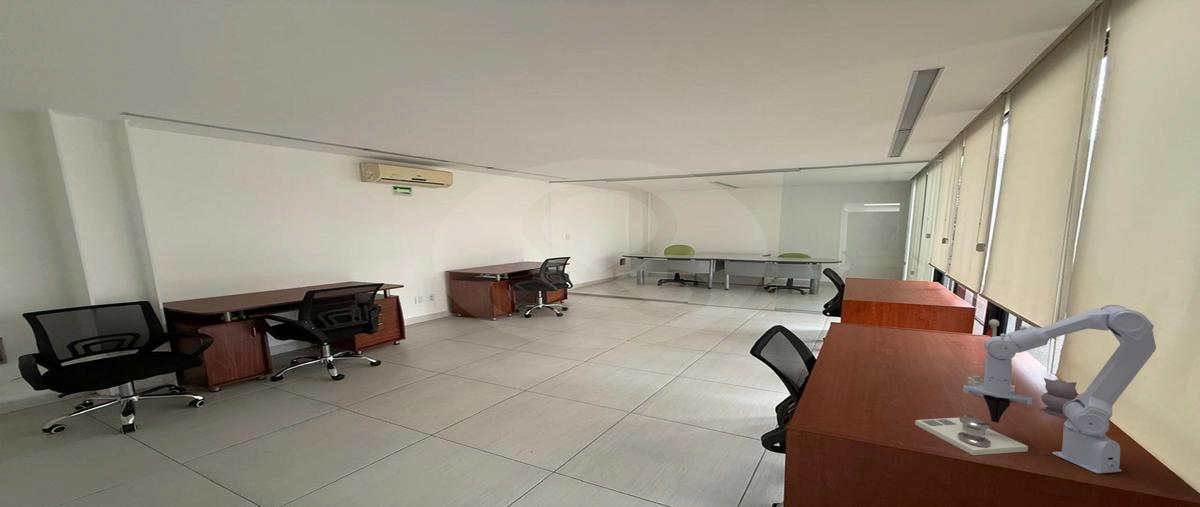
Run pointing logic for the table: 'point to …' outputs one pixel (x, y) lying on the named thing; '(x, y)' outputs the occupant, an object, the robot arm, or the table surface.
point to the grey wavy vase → (1058, 396)
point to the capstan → (974, 431)
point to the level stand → (949, 433)
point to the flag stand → (976, 379)
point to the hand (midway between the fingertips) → (994, 421)
